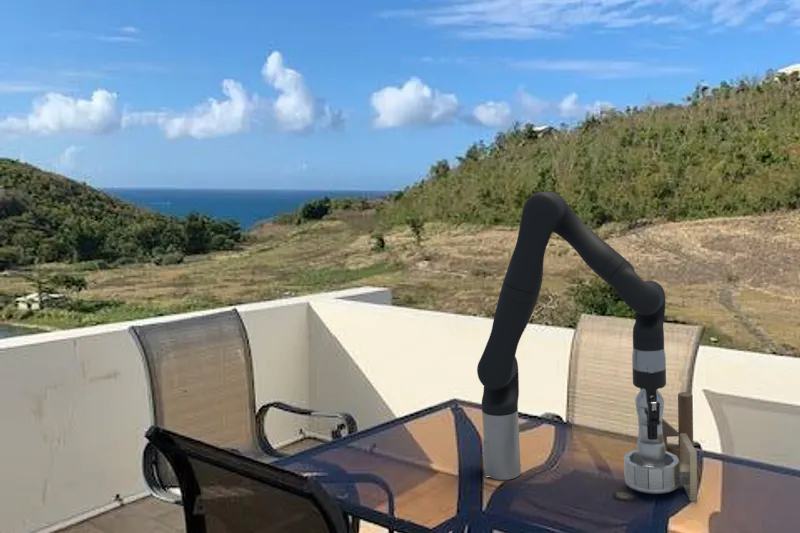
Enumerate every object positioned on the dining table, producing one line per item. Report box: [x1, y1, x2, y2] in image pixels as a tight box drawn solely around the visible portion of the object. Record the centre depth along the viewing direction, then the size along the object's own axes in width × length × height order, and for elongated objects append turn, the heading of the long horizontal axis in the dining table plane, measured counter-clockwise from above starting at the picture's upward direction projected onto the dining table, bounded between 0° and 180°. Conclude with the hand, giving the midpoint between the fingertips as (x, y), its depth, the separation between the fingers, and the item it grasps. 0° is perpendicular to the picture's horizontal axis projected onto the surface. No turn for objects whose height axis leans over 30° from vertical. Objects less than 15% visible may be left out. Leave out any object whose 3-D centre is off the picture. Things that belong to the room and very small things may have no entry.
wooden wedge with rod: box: [662, 391, 694, 463], centre depth 207 cm, size 4×11×18 cm, turn 87°
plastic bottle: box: [634, 389, 666, 462], centre depth 189 cm, size 6×7×20 cm
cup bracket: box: [623, 433, 698, 503], centre depth 191 cm, size 16×12×12 cm
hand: (650, 434), depth 190 cm, fingers closed on plastic bottle, 5 cm apart
